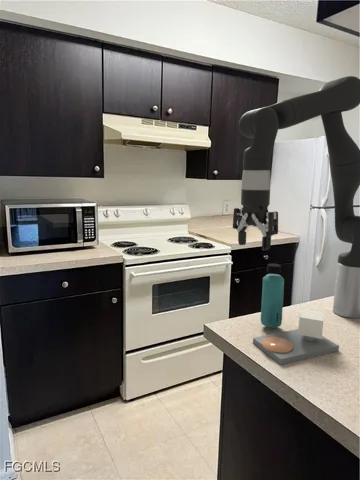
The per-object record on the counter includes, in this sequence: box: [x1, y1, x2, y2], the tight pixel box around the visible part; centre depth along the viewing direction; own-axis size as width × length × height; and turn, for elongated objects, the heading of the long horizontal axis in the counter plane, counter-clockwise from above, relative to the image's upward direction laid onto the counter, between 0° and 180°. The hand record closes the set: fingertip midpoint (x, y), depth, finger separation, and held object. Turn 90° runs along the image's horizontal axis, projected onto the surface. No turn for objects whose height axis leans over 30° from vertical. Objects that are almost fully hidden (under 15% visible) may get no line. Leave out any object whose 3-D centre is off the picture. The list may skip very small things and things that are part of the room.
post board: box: [252, 328, 340, 365], centre depth 93 cm, size 19×12×8 cm, turn 112°
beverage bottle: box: [260, 263, 285, 328], centre depth 103 cm, size 6×7×20 cm
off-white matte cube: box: [297, 309, 325, 339], centre depth 94 cm, size 6×6×5 cm
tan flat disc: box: [262, 337, 293, 353], centre depth 91 cm, size 8×8×1 cm
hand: (253, 247), depth 94 cm, fingers open, 8 cm apart
